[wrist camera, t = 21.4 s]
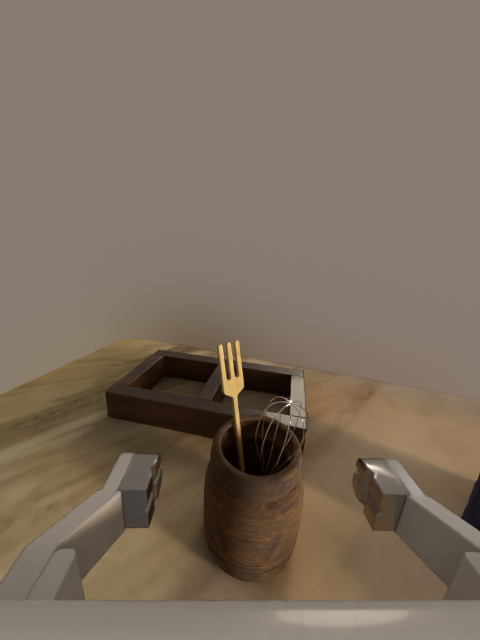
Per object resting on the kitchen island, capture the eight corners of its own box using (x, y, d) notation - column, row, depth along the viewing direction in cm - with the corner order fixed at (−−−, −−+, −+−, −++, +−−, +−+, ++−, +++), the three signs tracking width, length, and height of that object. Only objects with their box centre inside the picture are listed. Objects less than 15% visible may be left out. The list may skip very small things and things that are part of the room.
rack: (302, 457, 22) (306, 429, 21) (107, 416, 26) (104, 391, 25) (300, 391, 32) (303, 370, 31) (160, 368, 36) (159, 349, 35)
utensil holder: (241, 621, 12) (260, 419, 9) (185, 513, 17) (182, 352, 13) (315, 541, 16) (350, 373, 12) (251, 470, 21) (263, 333, 17)
